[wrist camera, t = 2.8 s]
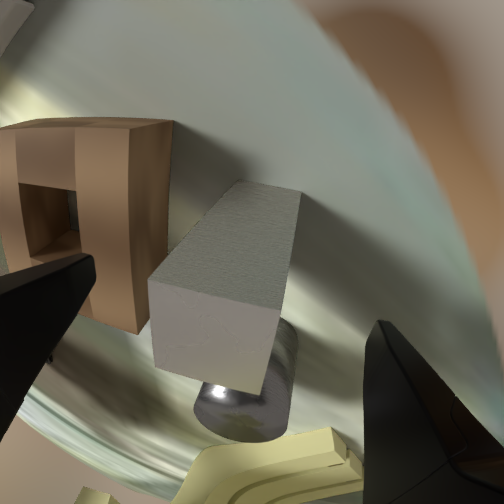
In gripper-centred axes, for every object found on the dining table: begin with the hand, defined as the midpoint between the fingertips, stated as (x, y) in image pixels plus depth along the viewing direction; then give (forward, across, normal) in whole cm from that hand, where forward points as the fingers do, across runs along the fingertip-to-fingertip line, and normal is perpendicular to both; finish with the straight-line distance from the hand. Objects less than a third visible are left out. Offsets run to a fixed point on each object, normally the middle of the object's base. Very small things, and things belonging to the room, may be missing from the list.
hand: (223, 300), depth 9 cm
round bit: (+7, -1, +8) cm, 11 cm away
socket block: (+7, +10, +1) cm, 12 cm away
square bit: (+7, 0, 0) cm, 7 cm away
